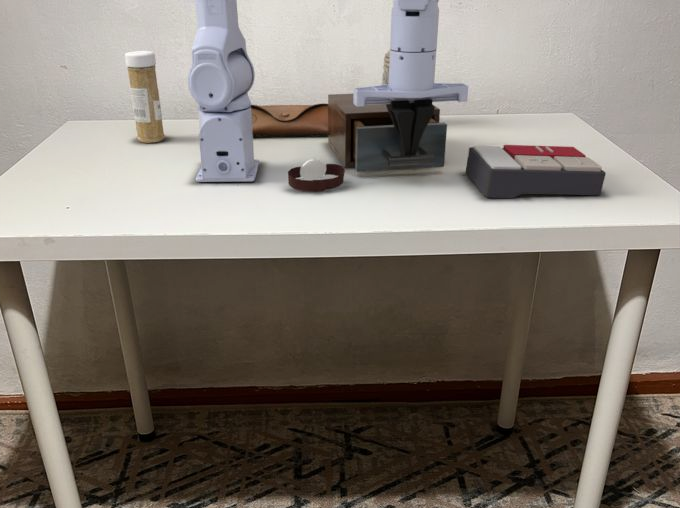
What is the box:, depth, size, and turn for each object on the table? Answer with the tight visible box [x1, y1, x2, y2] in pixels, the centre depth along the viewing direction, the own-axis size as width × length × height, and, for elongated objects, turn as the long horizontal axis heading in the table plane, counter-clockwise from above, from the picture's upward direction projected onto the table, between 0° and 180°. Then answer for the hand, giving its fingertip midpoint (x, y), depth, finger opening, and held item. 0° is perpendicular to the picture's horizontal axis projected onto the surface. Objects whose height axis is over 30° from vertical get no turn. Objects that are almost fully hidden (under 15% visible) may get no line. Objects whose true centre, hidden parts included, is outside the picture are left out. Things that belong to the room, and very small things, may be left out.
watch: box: [287, 157, 346, 193], centre depth 92 cm, size 8×5×4 cm, turn 107°
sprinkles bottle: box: [124, 50, 166, 144], centre depth 112 cm, size 5×5×13 cm
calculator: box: [465, 144, 607, 199], centre depth 93 cm, size 11×4×15 cm
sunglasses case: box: [251, 102, 328, 138], centre depth 119 cm, size 18×7×7 cm
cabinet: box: [327, 93, 441, 169], centre depth 106 cm, size 14×14×8 cm
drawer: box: [351, 117, 448, 173], centre depth 98 cm, size 18×12×6 cm
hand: (407, 159), depth 93 cm, fingers closed, pressing on drawer
